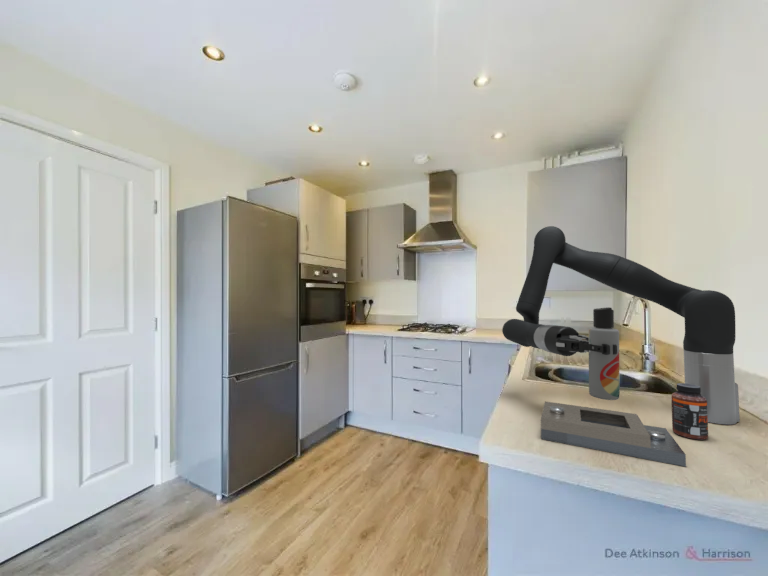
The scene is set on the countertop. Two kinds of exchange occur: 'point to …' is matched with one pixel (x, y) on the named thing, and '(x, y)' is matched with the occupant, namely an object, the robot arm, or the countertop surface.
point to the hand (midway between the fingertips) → (612, 349)
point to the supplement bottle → (689, 412)
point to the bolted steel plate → (609, 432)
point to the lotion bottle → (604, 356)
